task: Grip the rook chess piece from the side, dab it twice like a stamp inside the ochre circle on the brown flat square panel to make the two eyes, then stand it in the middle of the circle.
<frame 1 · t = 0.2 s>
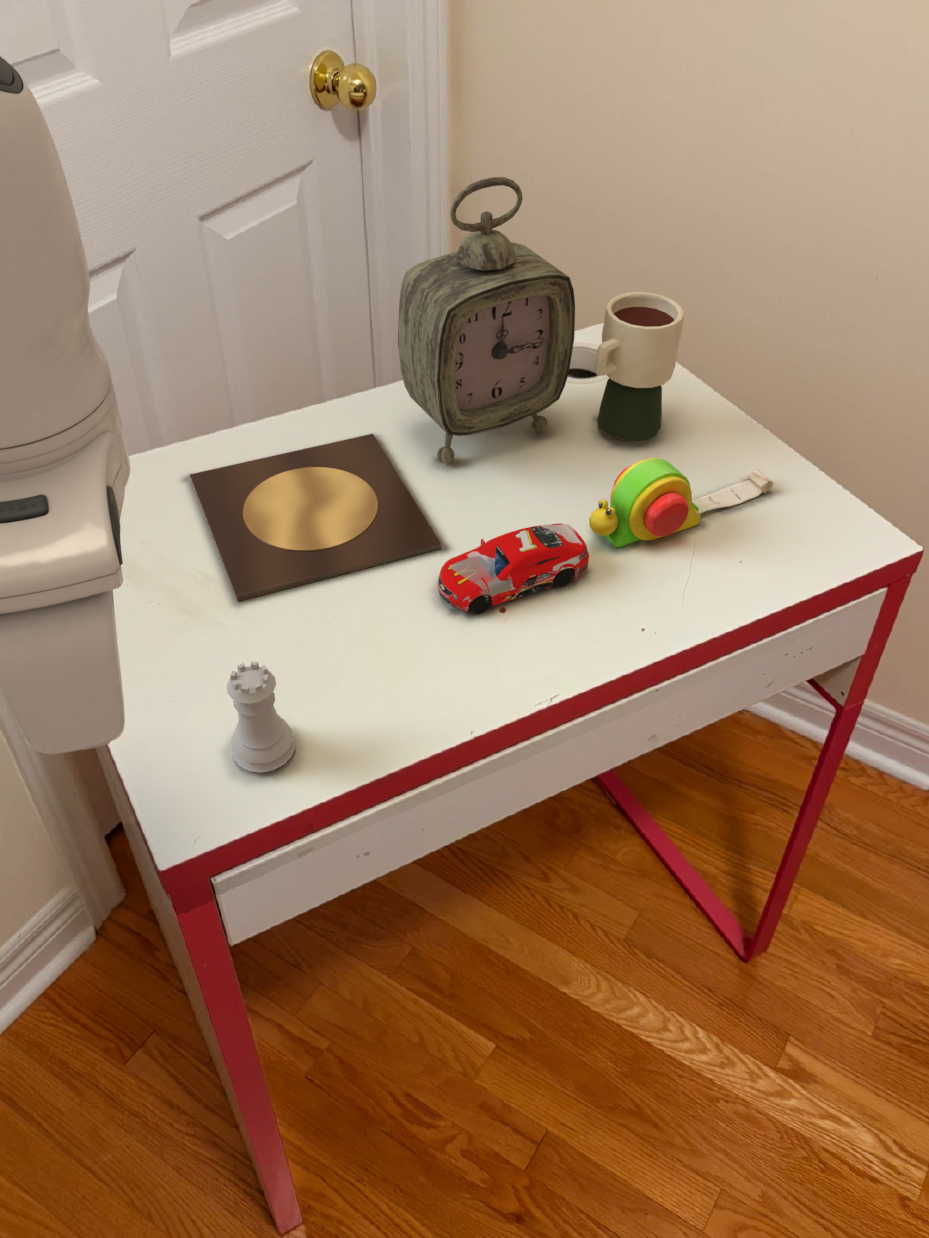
hand: (84, 669, 54), 19 cm above the table, tool pointing down, fingers open, 8 cm apart
tabletop clock: (478, 434, 104), on the table
race car: (512, 581, 88), on the table
cream coffee mug: (627, 431, 105), on the table
toy measuring tape: (679, 517, 95), on the table
brown flat square panel: (311, 512, 94), on the table
rook chess piece: (264, 753, 75), on the table
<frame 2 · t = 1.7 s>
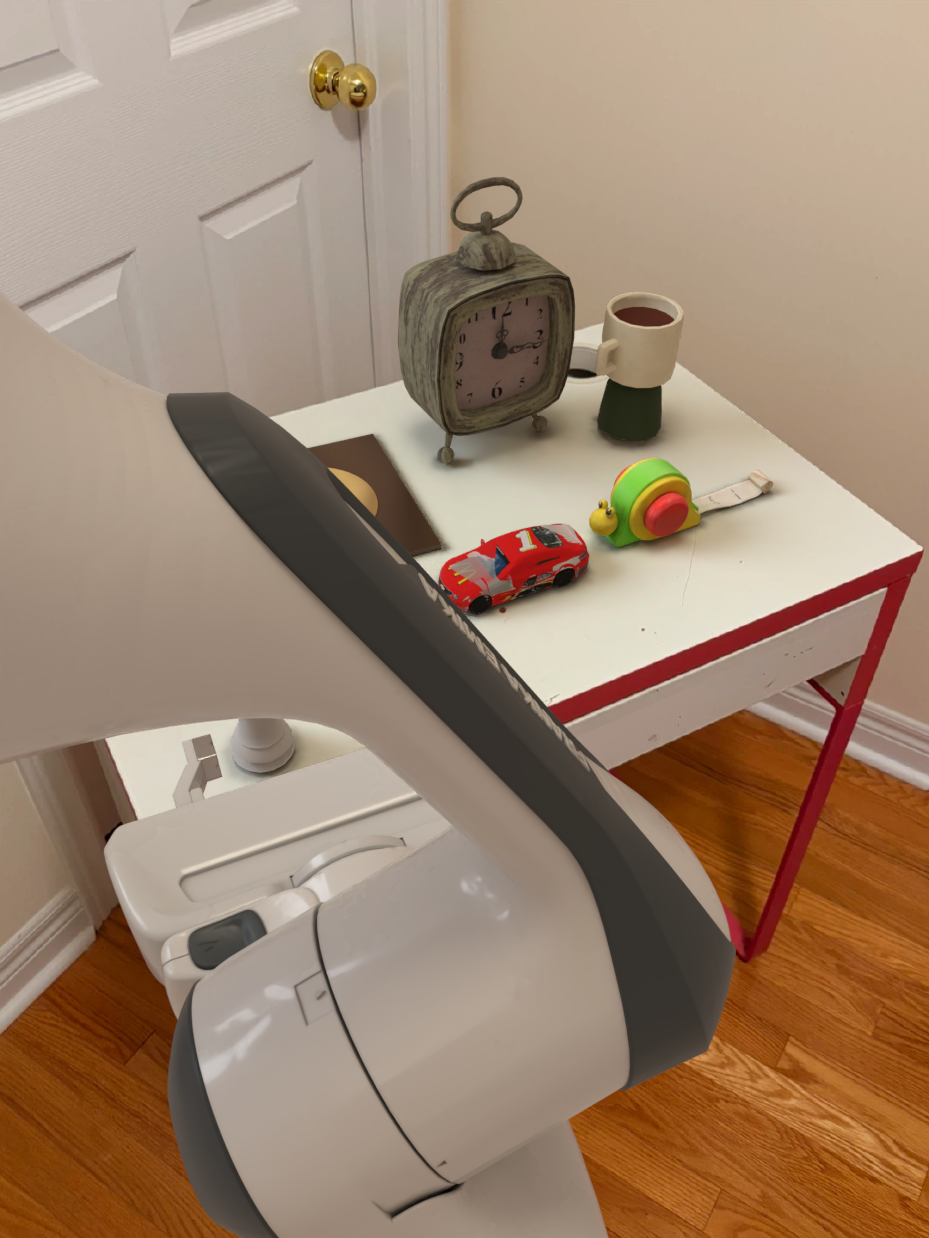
hand: (286, 718, 55), 17 cm above the table, tool horizontal, fingers open, 8 cm apart
nothing on the table moved.
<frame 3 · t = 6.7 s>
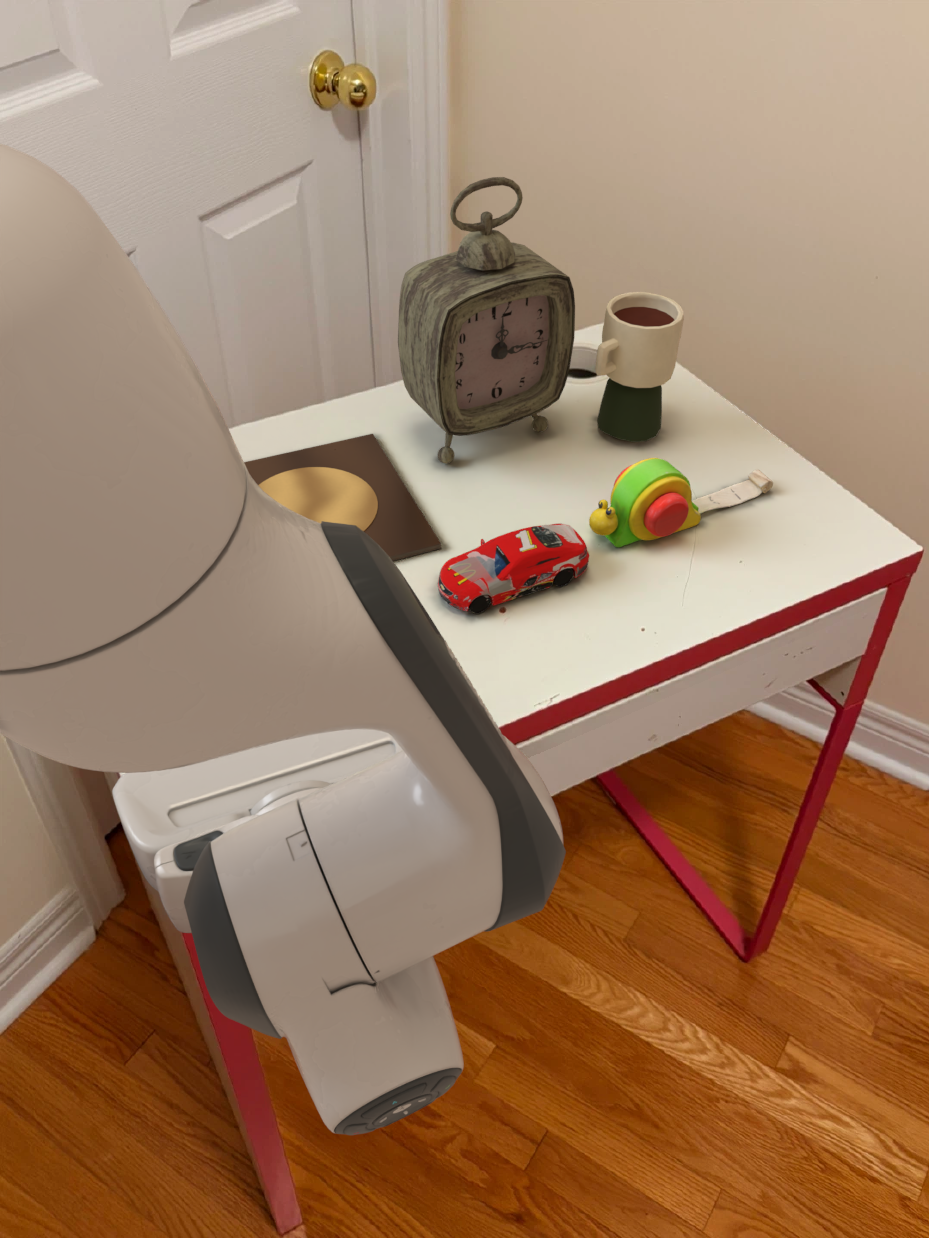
hand: (251, 696, 72), 5 cm above the table, tool horizontal, fingers closed on rook chess piece, 3 cm apart
rook chess piece: (264, 753, 75), on the table, touching gripper
everything else where it was.
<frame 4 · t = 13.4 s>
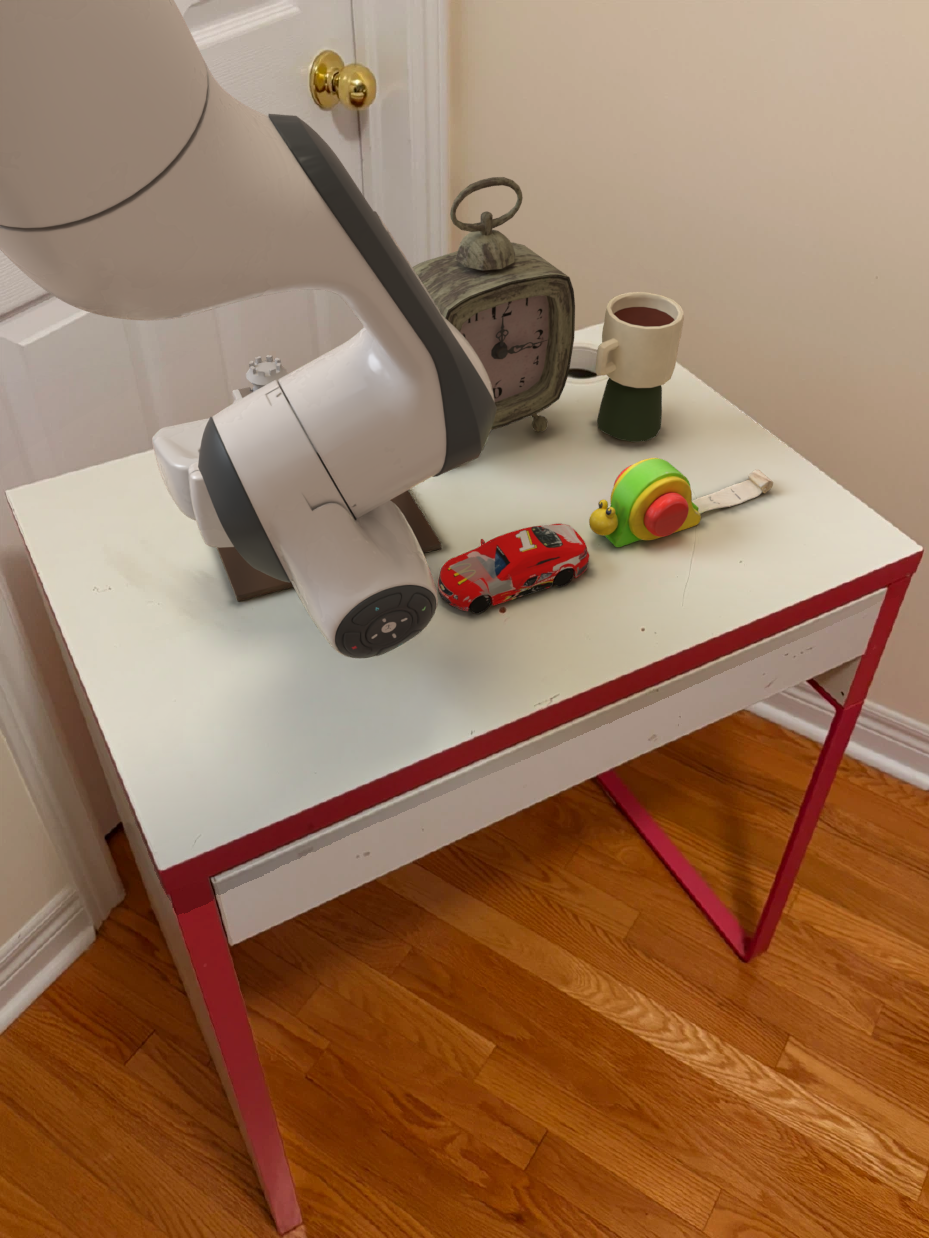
hand: (266, 391, 85), 13 cm above the table, tool horizontal, fingers closed on rook chess piece, 3 cm apart
rook chess piece: (277, 449, 88), point 8 cm above the table, touching gripper
everything else where it was.
when the fingers open (6 cm above the table, at t = 20.4 s): rook chess piece stays where it is, resting on brown flat square panel.
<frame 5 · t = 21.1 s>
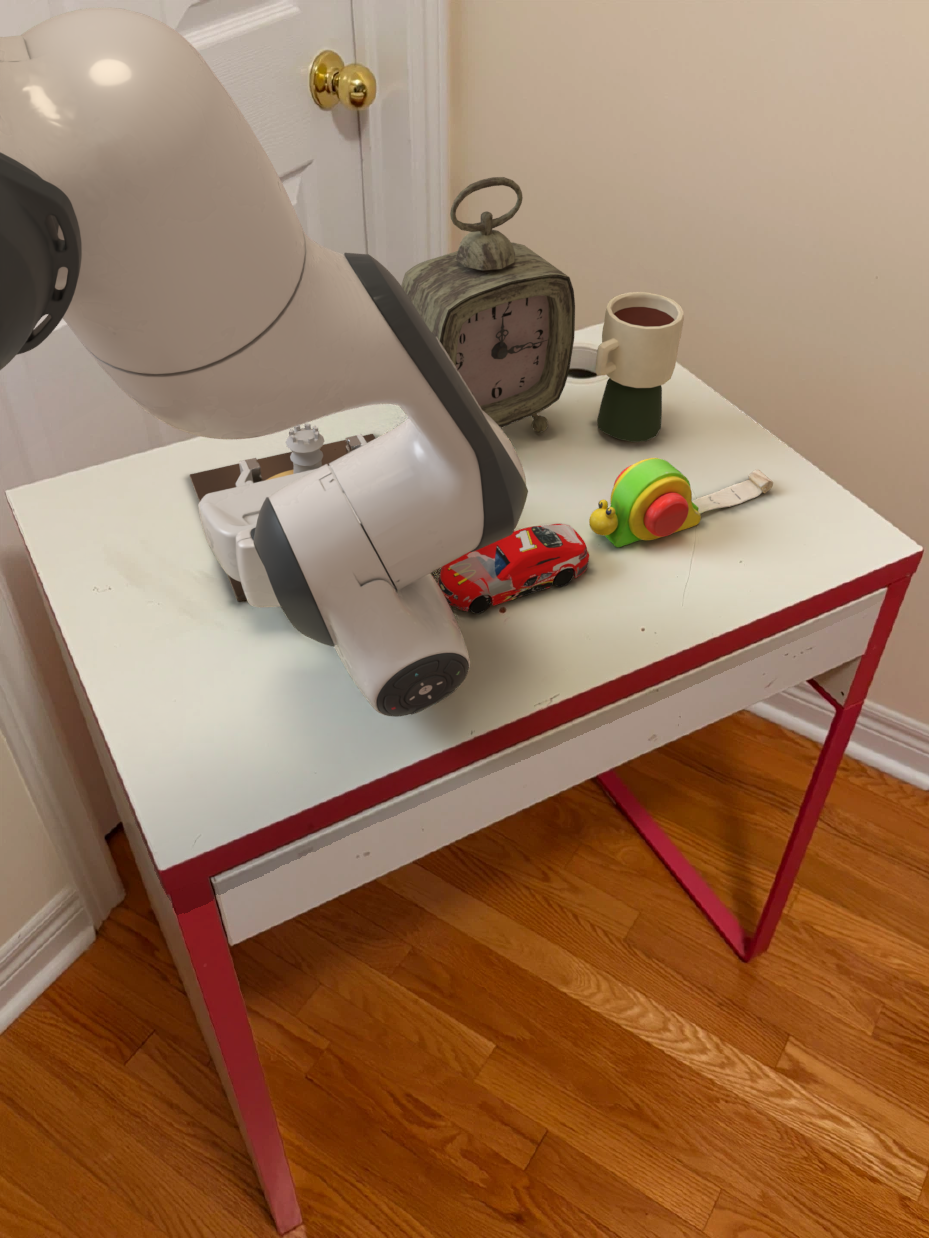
hand: (301, 453, 91), 6 cm above the table, tool horizontal, fingers open, 8 cm apart
rook chess piece: (312, 508, 94), point 1 cm above the table, touching brown flat square panel
everything else where it was.
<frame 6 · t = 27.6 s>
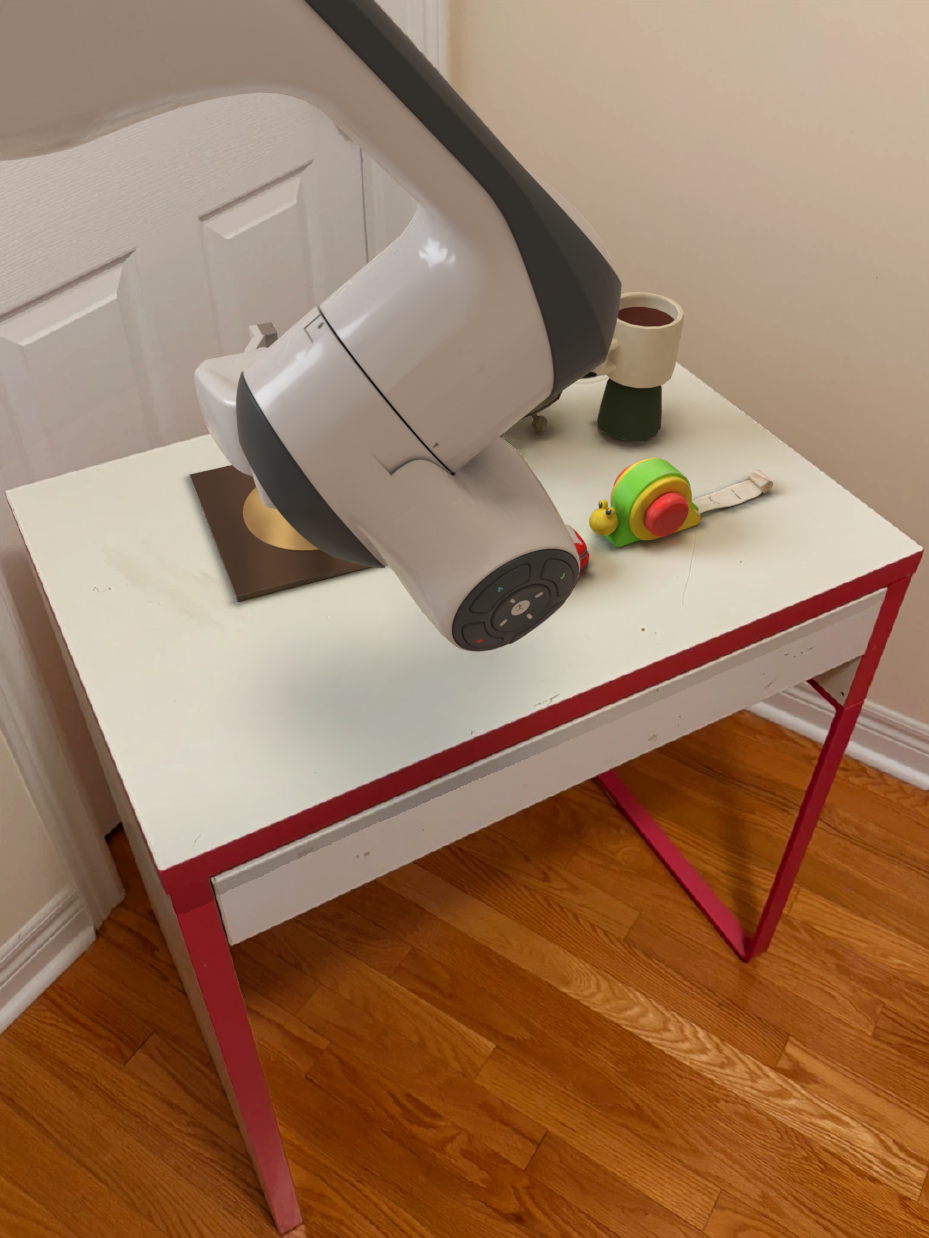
hand: (330, 320, 69), 25 cm above the table, tool horizontal, fingers open, 8 cm apart
nothing on the table moved.
at the end: rook chess piece inside the target area on the brown flat square panel (0.1 cm from its centre), point 0.5 cm above the brown flat square panel's base; rook chess piece tilted 0°; the gripper is holding nothing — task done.
